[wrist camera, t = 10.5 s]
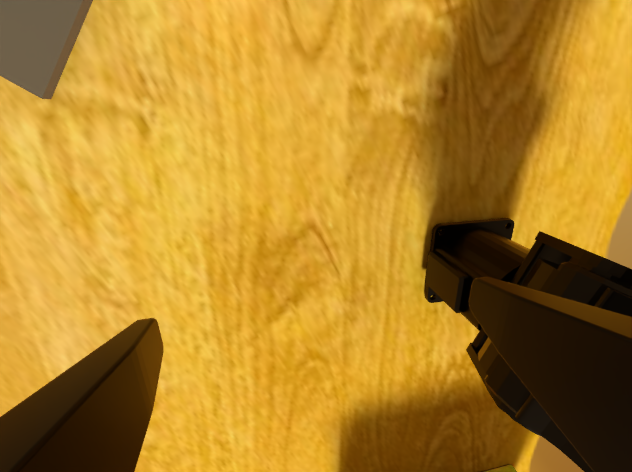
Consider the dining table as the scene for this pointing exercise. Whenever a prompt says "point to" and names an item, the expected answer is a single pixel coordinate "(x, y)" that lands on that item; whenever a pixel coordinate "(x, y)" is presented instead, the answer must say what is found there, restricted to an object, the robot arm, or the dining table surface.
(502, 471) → the snack box
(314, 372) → the dining table surface
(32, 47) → the coaster
